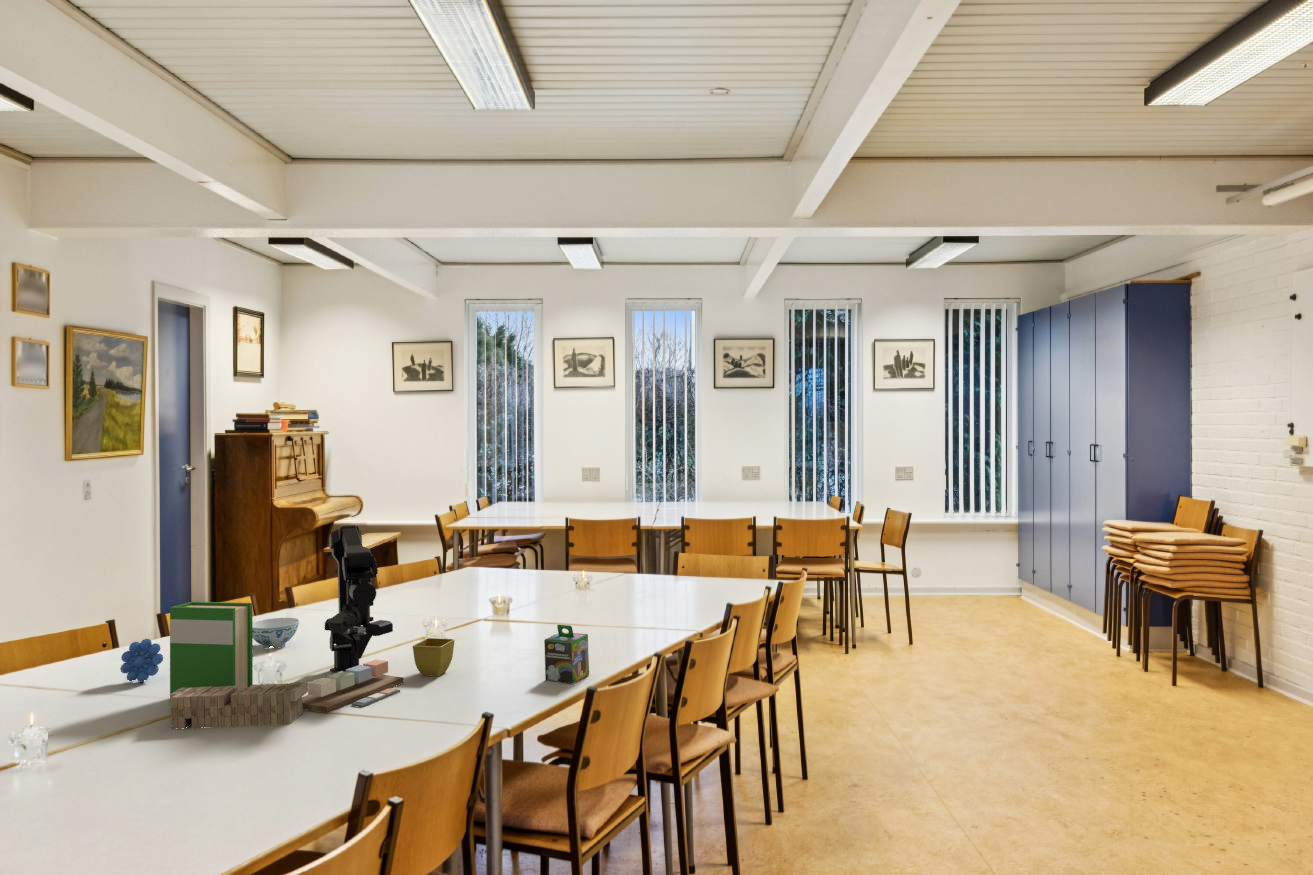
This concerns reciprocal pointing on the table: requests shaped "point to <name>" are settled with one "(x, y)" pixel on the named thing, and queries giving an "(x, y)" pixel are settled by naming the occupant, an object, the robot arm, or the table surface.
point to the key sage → (343, 679)
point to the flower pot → (433, 656)
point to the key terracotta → (377, 667)
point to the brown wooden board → (350, 694)
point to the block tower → (237, 705)
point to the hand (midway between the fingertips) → (358, 658)
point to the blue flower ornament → (141, 660)
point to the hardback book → (211, 645)
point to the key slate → (361, 673)
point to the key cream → (321, 687)
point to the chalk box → (566, 656)
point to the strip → (375, 697)
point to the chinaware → (274, 631)
